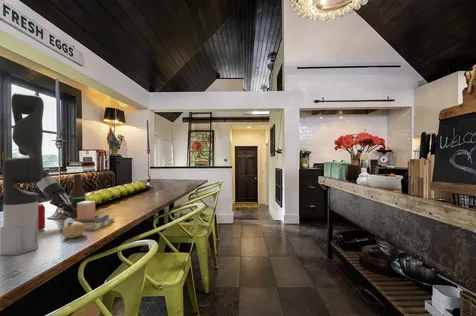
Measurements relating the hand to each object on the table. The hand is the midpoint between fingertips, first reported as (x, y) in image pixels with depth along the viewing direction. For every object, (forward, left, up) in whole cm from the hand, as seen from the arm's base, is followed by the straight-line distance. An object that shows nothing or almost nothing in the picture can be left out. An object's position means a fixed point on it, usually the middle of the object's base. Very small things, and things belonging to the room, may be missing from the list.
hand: (73, 211), depth 118 cm
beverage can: (-11, +9, -7) cm, 16 cm away
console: (-1, -10, -6) cm, 12 cm away
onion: (-18, -15, -7) cm, 24 cm away
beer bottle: (+17, +11, -7) cm, 21 cm away
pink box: (0, -7, -4) cm, 8 cm away
